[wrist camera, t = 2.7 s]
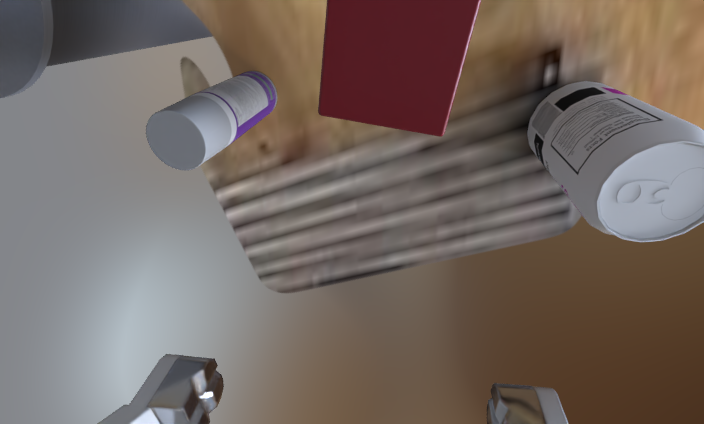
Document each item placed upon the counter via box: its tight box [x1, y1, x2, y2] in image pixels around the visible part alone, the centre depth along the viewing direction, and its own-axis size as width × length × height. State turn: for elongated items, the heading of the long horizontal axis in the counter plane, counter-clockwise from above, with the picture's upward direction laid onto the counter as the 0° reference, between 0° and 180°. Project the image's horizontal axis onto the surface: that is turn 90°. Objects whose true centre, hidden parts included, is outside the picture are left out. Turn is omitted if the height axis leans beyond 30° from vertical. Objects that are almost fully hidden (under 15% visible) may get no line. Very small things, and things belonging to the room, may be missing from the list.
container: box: [146, 71, 277, 170], centre depth 32 cm, size 5×5×15 cm
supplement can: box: [527, 81, 704, 242], centre depth 29 cm, size 8×8×15 cm
